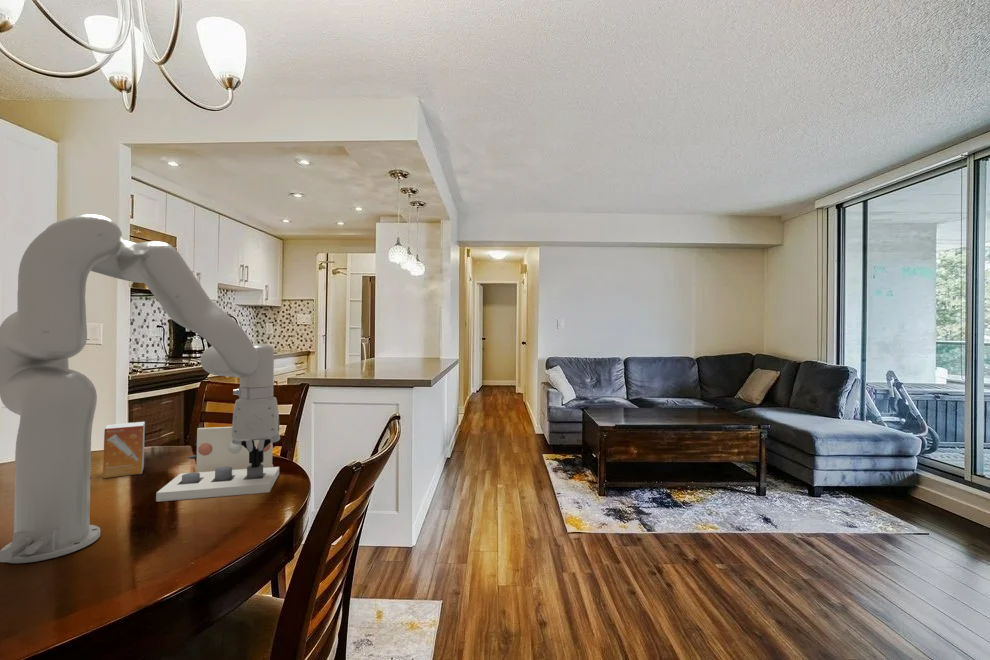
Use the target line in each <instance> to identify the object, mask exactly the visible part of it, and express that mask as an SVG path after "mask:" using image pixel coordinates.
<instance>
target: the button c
mask: <svg viewBox="0 0 990 660" xmlns="http://www.w3.org/2000/svg"><path fill="white" fill-rule="evenodd" d="M261 478H263V465H262V464H261V465H260V466H259V467H251V465H250V466H248V467H247V479H261Z"/></svg>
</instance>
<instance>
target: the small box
mask: <svg viewBox="0 0 990 660" xmlns="http://www.w3.org/2000/svg"><path fill="white" fill-rule="evenodd" d="M145 429H146V421H136V422H123V423H122V422H121V423H113V424H106V427H105V428H104V431H103V432H104V433H103V434H104V436H103V458H102V459H103V460H102V462H103V464H102V466H103V467H102V478H103V479H108V478H116V477H124V476H133V475H134V476H135V475H142V474H143V471H144V468H145Z"/></svg>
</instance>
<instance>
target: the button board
mask: <svg viewBox="0 0 990 660" xmlns="http://www.w3.org/2000/svg"><path fill="white" fill-rule="evenodd" d="M188 473H189V472H184V473H179V474H178V475H177V476H175V477H174V478H173V479H171V480H169V482H168V483H166V484H165V485H164V486H162V488H160V489H159V490H158V491H156V494H155V495H156V496H155V501H156V502H168V501H170V502H171V501H181V500H182V501H183V500H193V499H194V500H195V499H205V498H217V497H228V496H240V495H242V496H243V495H252V494H253V495H256V494H264V493H265V494H266V493H270V492H271V490H272V488H273V486H274V484H275V482H276V481H277V479H278V477H279V475H280V466H273V467H268V468H263V478H261V479H247V469H239V470H232V480H231V481H221V482H215V471H210V472H194V473H200V482H199V483H194V484H182V475H184V474H188Z"/></svg>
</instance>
